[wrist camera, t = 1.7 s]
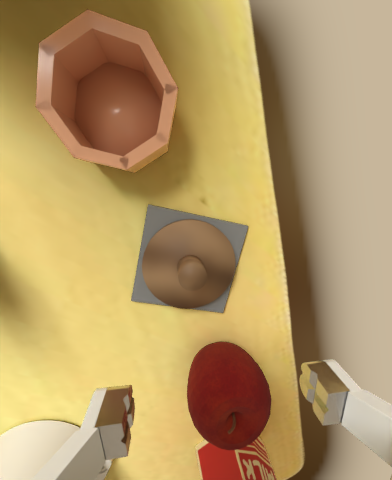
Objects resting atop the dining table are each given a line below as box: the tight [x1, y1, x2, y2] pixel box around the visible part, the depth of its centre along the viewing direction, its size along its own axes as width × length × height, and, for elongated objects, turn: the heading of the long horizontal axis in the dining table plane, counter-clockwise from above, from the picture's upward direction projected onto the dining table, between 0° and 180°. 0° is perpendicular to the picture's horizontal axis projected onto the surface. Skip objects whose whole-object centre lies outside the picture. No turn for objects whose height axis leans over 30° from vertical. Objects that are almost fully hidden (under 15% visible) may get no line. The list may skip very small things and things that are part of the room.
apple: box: [187, 342, 271, 450], centre depth 25 cm, size 10×10×10 cm
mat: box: [131, 204, 248, 313], centre depth 26 cm, size 12×12×1 cm
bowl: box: [36, 9, 178, 173], centre depth 19 cm, size 10×10×5 cm
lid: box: [142, 219, 235, 309], centre depth 24 cm, size 11×11×4 cm
